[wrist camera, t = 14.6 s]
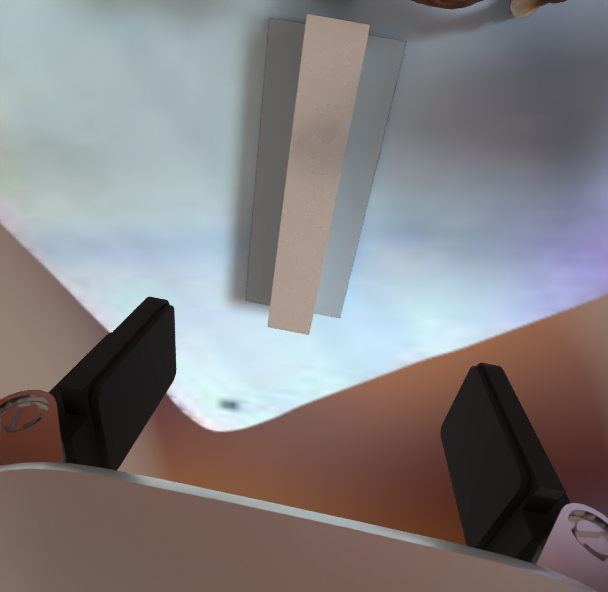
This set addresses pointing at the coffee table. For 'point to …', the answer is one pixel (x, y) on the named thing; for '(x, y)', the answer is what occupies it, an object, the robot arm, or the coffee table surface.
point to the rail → (315, 164)
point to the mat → (355, 170)
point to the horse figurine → (521, 4)
